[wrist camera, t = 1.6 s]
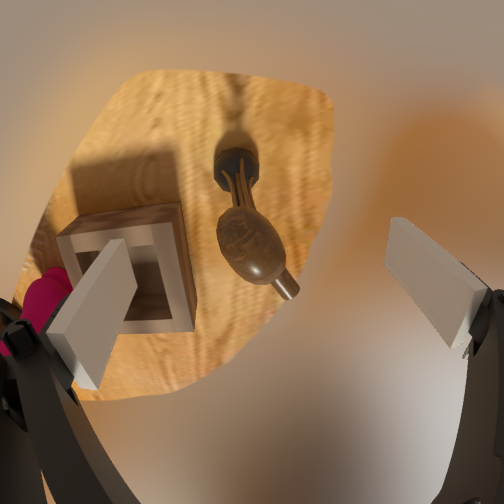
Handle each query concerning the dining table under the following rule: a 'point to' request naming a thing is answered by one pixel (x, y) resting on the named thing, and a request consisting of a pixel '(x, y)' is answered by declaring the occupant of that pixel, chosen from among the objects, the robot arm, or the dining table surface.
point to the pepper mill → (43, 299)
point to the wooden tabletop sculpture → (249, 227)
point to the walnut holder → (140, 263)
